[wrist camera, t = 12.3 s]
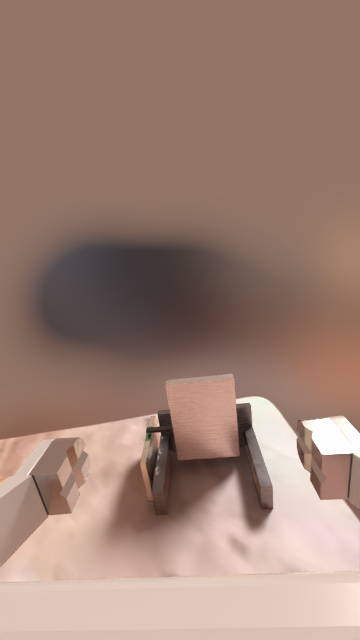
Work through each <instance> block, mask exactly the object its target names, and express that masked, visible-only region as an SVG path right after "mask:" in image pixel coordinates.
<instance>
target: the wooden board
mask: <svg viewBox="0 0 360 640" xmlns="http://www.w3.org/2000/svg"><path fill="white" fill-rule="evenodd" d="M166 391H167V396H168V402H169V407H170V408H169V409H170V415H171V420H172V426H161V427H149V428H147V430H146V433H157V432H169V431H173V432H174V438H175V444H176V450H177V456H178V460H190V459H204V458H219V457H234V456H240V452H239V438H238V425H237V412H236V399H235V386H234V378H233V375H232V374H227V375H216V376H206V377H196V378H184V379H175V380H167V381H166Z"/></svg>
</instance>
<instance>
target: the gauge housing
mask: <svg viewBox="0 0 360 640" xmlns="http://www.w3.org/2000/svg"><path fill="white" fill-rule="evenodd" d="M236 412H237V425H238V438H239V446H244V445H245V449H246V453H247V456H248V460H249V464H250V467H251V471H252V475H253V478H254V482H255V486H256V490H257V493H258V497H259V501H260V504H261V508H262V509H271V508H273V489H272V483H271V480H270V477H269V474H268V472H267V469H266V466H265V463H264V460H263V457H262V454H261V451H260V448H259V445H258V442H257V439H256V436H255V433H254V431H253V428H252V417H251V405H250V403H244V404H236ZM158 419H159V424H160V427H161V426H172V420H171V415H170V410H161V411H158ZM149 427H157V422H156V416H151V418H150V423H149ZM149 427H148V428H149ZM175 450H176V444H175V438H174V432H173V431H169V432H161V437H160V438H159V432H157V433H147V434H146V439H145V444H144V449H143V453H142V457H141V461H140V466H141V471H142V475H143V480H144V484H145V488H146V493H147V497H148V501H154V506H155V510H156V514H167V508H168V497H169V485H170V474H171V463H172V451H175Z"/></svg>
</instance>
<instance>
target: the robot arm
mask: <svg viewBox="0 0 360 640" xmlns="http://www.w3.org/2000/svg"><path fill="white" fill-rule="evenodd" d="M297 431H298V432H299V434H300V436H299V437H298V438H297V450H298V455H299V458H300V460H301V463H302V465H303V467H304V469H306V470H307V471H309V472H310V473H311V474H310V481H311V482H312V484H313V486H314V488H315V490H316V492H317V494H318V496H319V498H320V500H330V499H349V501H350V502H351V503H352V504H353V505H355V506H356V507H357V508H358V509H359V510H360V434H359V433H358V432H357V431H356V430H355V428H354V427H353V426H352V425H351V424H350V423H349V422H348V421H347V419H346V418H345V417H343V416H336V417H327V418H318V419H306V420H298V422H297ZM84 447H85V443H84V440H83V438H80V437H78V438H59V439H45V440H42V441H41V442H40V443H39V444H38V445H37V446H36V448H35V449H34V450H33V452H32V453H31V454H30V455H29V457H28V458H27V459H26V461H25V462H24V463H23V464H22V466H21V467H20V468H19V470H18V471H17V472H16V474H15V475H14V476H11V477H8V478H7V479H5V480H4V481H2V482H1V483H0V567H1V566H2V565H3V564H4V563H5V562H6V561H7V560H8V559H9V558H10V557H11V556H12V554H13V553H14V552H15V551H16V550H17V549H18V548H19V547H20V546H21V545H22V544H23V543H24V542H25V541H26V540H27V539H28V537H29V536H30V535H31V534H32V533H33V532H34V531H35V530H36V529H37V528H38V527H39V526H40V525H41V524H42V523H43V522H44V521H45V519H46V518H47V517H48V515H58V514H69V513H72V511H73V509H74V507H75V504H76V502H77V500H78V498H79V496H80V492H79V488H80V487H81V486H82V485H83V484H84V483H85V482H86V480H87V477H88V475H89V469H90V460H89V456H88V454H87V453H85V452H84V451H83V449H84ZM0 640H360V571H334V572H304V573H274V574H244V575H215V576H184V577H153V578H122V579H91V580H60V581H28V582H0Z"/></svg>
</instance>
